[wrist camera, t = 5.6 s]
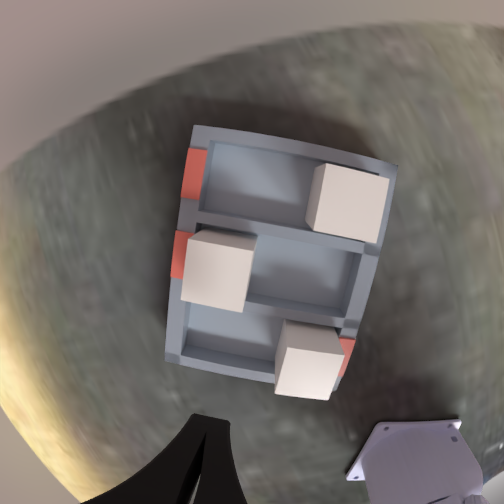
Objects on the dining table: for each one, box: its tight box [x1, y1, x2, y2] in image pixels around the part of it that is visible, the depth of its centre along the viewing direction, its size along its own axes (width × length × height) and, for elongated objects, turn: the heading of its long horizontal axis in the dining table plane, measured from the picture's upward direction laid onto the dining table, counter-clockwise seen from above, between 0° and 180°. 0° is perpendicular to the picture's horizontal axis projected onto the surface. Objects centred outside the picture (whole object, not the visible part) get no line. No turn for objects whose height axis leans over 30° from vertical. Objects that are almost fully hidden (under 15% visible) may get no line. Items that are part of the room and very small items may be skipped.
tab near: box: [305, 163, 389, 243], centre depth 15 cm, size 3×3×4 cm
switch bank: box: [165, 125, 398, 391], centre depth 18 cm, size 11×14×3 cm
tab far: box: [275, 319, 345, 400], centre depth 17 cm, size 3×3×4 cm
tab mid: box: [181, 227, 258, 313], centre depth 16 cm, size 3×3×4 cm
